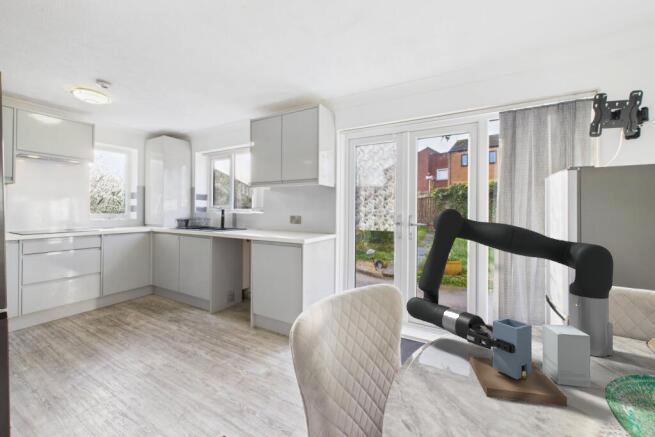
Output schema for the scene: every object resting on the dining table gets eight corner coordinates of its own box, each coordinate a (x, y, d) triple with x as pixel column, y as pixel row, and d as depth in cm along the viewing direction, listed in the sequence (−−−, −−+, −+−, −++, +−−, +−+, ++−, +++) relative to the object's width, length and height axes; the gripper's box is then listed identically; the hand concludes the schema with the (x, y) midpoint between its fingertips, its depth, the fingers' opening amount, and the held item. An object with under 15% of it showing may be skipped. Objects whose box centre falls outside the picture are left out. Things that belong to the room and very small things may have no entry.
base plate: (533, 369, 79) (533, 362, 79) (567, 406, 64) (567, 397, 64) (469, 362, 83) (469, 355, 83) (486, 396, 67) (486, 387, 67)
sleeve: (492, 367, 74) (492, 321, 74) (507, 362, 77) (507, 317, 77) (516, 379, 69) (517, 329, 69) (531, 373, 72) (531, 324, 72)
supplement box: (591, 388, 70) (591, 336, 70) (557, 384, 72) (556, 333, 72) (572, 372, 78) (572, 325, 78) (541, 369, 79) (541, 323, 79)
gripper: (445, 315, 83) (503, 336, 68) (478, 308, 89) (538, 326, 74) (445, 341, 83) (503, 369, 68) (478, 332, 89) (538, 355, 74)
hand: (521, 346), depth 71 cm, fingers closed on sleeve, 6 cm apart
